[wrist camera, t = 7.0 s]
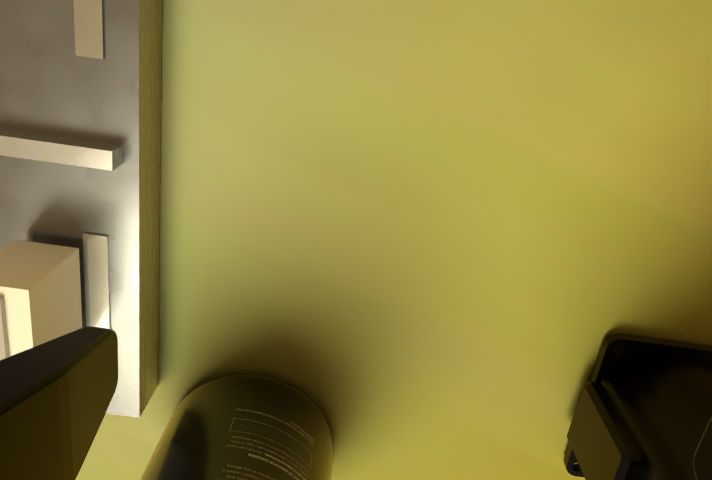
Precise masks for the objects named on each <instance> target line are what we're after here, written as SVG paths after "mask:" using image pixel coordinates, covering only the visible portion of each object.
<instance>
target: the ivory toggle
mask: <svg viewBox="0 0 712 480" xmlns="http://www.w3.org/2000/svg"><path fill="white" fill-rule="evenodd" d="M80 328H82V309H81V285H80V262H79V248H73V247H66V246H58V245H51V244H44V243H36V242H29V241H22V240H16V241H14V242H13V243H11V244H10V245H8V246H7V247H5V248H4V249H2V250H1V251H0V360H2V359H5V358H7V357H10V356H12V355H15V354H17V353H20V352H23V351H25V350H28V349H30V348H33V347H35V346H38V345H40V344H43V343H45V342H48V341H50V340H53V339H55V338H58V337H60V336H63V335H65V334H68V333H70V332H73V331H75V330H78V329H80Z"/></svg>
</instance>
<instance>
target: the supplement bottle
mask: <svg viewBox="0 0 712 480" xmlns="http://www.w3.org/2000/svg"><path fill="white" fill-rule="evenodd" d="M332 459H333V444H332V437H331V433H330V430H329V427H328V424H327V422H326V420H325V418H324V417H323V415H322V413H321V412H320V411H319V409H318V408H317V407H316V406H315V404H314V403H313V402H312V401H311V400H310V399H308V398H307V397H306V396H305V395H304V394H302V393H301V392H299V391H298V390H296V389H295V388H293V387H291V386H289V385H287V384H285V383H283V382H280V381H278V380H275V379H271V378H268V377H263V376H256V375H233V376H226V377H222V378H218V379H215V380H212V381H210V382H208V383H205V384H203V385H201V386H200V387H198V388H196V389H195V390H194V391H192V392H191V393H190V394H189V395H187V396H186V397H185V398H184V399H183V400H182V402H181V403H180V404H179V405H178V407H177V408H176V410H175V411H174V413H173V415H172V417H171V419H170V421H169V423H168V425H167V427H166V428H165V430H164V432H163V434H162V436H161V438H160V440H159V442H158V445H157V447H156V449H155V451H154V453H153V455H152V457H151V459H150V461H149V463H148V465H147V467H146V469H145V471H144V473H143V476H142V478H141V480H331V471H332Z"/></svg>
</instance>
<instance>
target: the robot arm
mask: <svg viewBox="0 0 712 480" xmlns="http://www.w3.org/2000/svg"><path fill="white" fill-rule="evenodd" d="M617 345H622V347H621V349H619V350H617V351H613V348H614V347H615V346H617ZM117 383H118V338H117V334H116V332H115V331H114V330H113V329H108V328H101V327H94V326H86V327H83V328H80V329H78V330H75V331H73V332H70V333H68V334H65V335H63V336H60V337H58V338H55V339H53V340H50V341H48V342H45V343H43V344H40V345H38V346H35V347H33V348H30V349H28V350H25V351H23V352H20V353H17V354H15V355H12V356H10V357H7V358H5V359H2V360H0V480H75V479H76V477H77V475H78V473H79V471H80V468H81V466H82V464H83V462H84V460H85V458H86V455H87V453H88V451H89V449H90V446H91V444H92V442H93V440H94V438H95V435H96V433H97V431H98V429H99V427H100V424H101V422H102V420H103V418H104V415H105V413H106V411H107V409H108V407H109V404H110V402H111V400H112V398H113V396H114V393H115V390H116V387H117ZM567 438H568V440H569V444H568V447H567V450H566V453H565V456H564V464H565V467H566V469H567V471H568V473H570V474H571V475H574V476H578V477H585V479H586V480H712V346H708V345H701V344H693V343H686V342H679V341H671V340H664V339H657V338H649V337H642V336H635V335H627V334H620V333H618V334H612V335H609V336H608V337H607V338H605V340H604V341H603V343H602V346H601V349H600V352H599V355H598V358H597V361H596V364H595V367H594V370H593V373H592V376H591V379H590V382H588V383H587V384H586V385H585V386H584V387H583V389H582V392H581V395H580V398H579V401H578V404H577V407H576V410H575V413H574V416H573V419H572V422H571V425H570V428H569V431H568V434H567ZM576 462H578V463H579V464H574V463H576Z"/></svg>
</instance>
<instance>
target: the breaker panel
mask: <svg viewBox="0 0 712 480" xmlns="http://www.w3.org/2000/svg"><path fill="white" fill-rule="evenodd" d="M161 79H162V0H0V251H1V250H2V249H4V248H5V247H7V246H8V245H10V244H11V243H13V242H14V241H16V240H22V241H29V242H36V243H44V244H51V245H58V246H66V247H73V248H79V262H80V285H81V309H82V328H83V327H86V326H94V327H101V328H108V329H113V330H114V331H115V332H116V334H117V338H118V383H117V387H116V390H115V393H114V396H113V398H112V400H111V402H110V404H109V407H108V409H107V411H106V413H107V414H114V415H122V416H129V417H137V418H140V416H141V414H142V412H143V411H144V409H145V407H146V405H147V404H148V402H149V400H150V398H151V397H152V395H153V393H154V391H155V390H156V388H157V386H158V327H159V244H160V161H161Z"/></svg>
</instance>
